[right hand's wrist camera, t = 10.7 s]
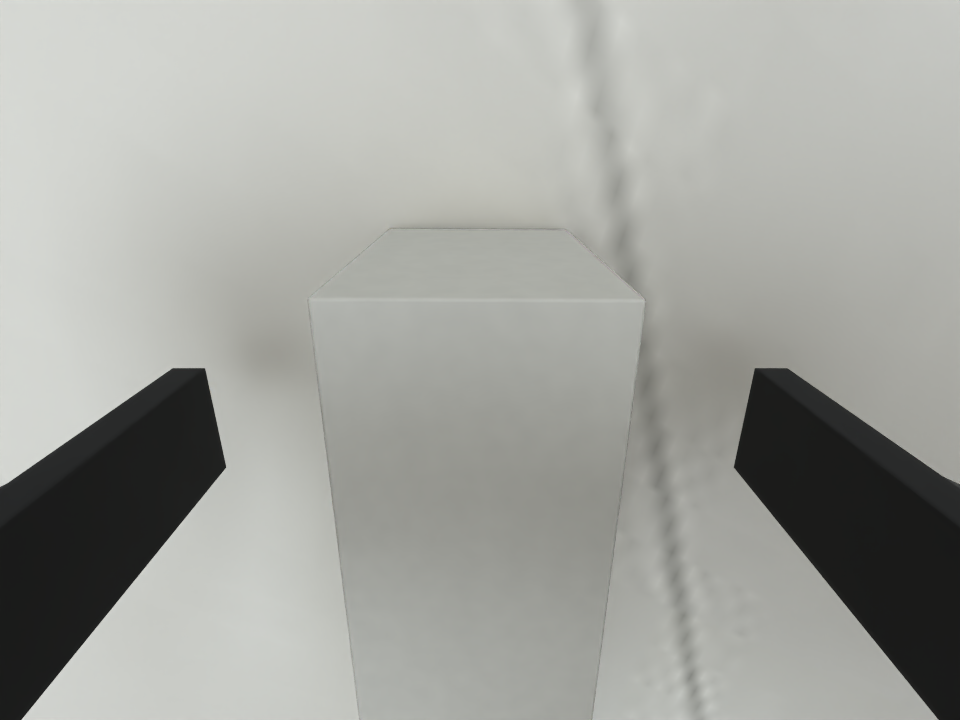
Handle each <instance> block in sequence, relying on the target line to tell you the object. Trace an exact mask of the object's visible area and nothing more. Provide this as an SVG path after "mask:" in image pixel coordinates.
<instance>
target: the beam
mask: <svg viewBox="0 0 960 720" xmlns="http://www.w3.org/2000/svg"><path fill="white" fill-rule="evenodd" d="M645 305H646V301H645V299H644V298H643V297H642V296H641V295H640V294H638V293H637V292H636V291H635V290H634V289H633V288H632V287H631V286H629V285H628V284H627V283H626V282H625V281H624V280H623V279H622V278H620V277H619V276H618V275H617V274H616V273H615V272H614V271H613V270H611V269H610V268H609V267H608V266H607V265H606V264H605V263H604V262H602V261H601V260H600V259H599V258H598V257H597V256H596V255H594V254H593V253H592V252H591V251H590V250H589V249H588V248H587V247H585V246H584V245H583V244H582V243H581V242H580V241H579V240H578V239H576V238H575V237H574V236H573V235H572V234H571V233H570V232H569V231H567V230H566V229H389V230H388V231H386V232H385V233H384V234H383V235H382V236H381V237H379V238H378V239H377V240H376V241H375V242H374V243H372V244H371V245H370V246H369V247H368V248H367V249H365V250H364V251H363V252H362V253H361V254H359V255H358V256H357V257H356V258H355V259H354V260H352V261H351V262H350V263H349V264H348V265H347V266H345V267H344V268H343V269H342V270H341V271H339V272H338V273H337V274H336V275H335V276H334V277H332V278H331V279H330V280H329V281H328V282H327V283H325V284H324V285H323V286H322V287H321V288H320V289H318V290H317V291H316V292H315V293H314V294H312V295H311V296H310V297H309V298H308V307H309V315H310V323H311V331H312V340H313V348H314V356H315V364H316V372H317V380H318V388H319V396H320V404H321V412H322V421H323V429H324V437H325V445H326V453H327V461H328V469H329V477H330V485H331V493H332V502H333V510H334V518H335V526H336V534H337V542H338V550H339V558H340V566H341V574H342V583H343V591H344V599H345V607H346V615H347V623H348V631H349V639H350V647H351V655H352V664H353V672H354V680H355V688H356V696H357V704H358V712H359V720H592V717H593V709H594V701H595V693H596V685H597V678H598V670H599V662H600V654H601V647H602V639H603V631H604V623H605V616H606V608H607V600H608V592H609V584H610V577H611V569H612V561H613V553H614V546H615V538H616V530H617V522H618V515H619V507H620V499H621V491H622V483H623V476H624V468H625V460H626V452H627V445H628V437H629V429H630V421H631V414H632V406H633V398H634V390H635V382H636V375H637V367H638V359H639V351H640V344H641V336H642V328H643V320H644V313H645Z"/></svg>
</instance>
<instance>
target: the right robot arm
mask: <svg viewBox="0 0 960 720" xmlns="http://www.w3.org/2000/svg"><path fill="white" fill-rule="evenodd" d="M225 468H226V464H225V460H224V455H223V450H222V446H221V441H220V436H219V432H218V427H217V422H216V417H215V413H214V408H213V403H212V399H211V394H210V389H209V385H208V380H207V375H206V371H205V368H173V369H171V370H170V371H168V372H167V373H165V374H164V375H163V376H161V377H160V378H158V379H157V380H155V381H154V382H152V383H151V384H150V385H148V386H147V387H145V388H144V389H142V390H141V391H140V392H138V393H137V394H135V395H134V396H132V397H131V398H129V399H128V400H127V401H125V402H124V403H122V404H121V405H119V406H118V407H117V408H115V409H114V410H112V411H111V412H109V413H108V414H107V415H105V416H104V417H102V418H101V419H99V420H98V421H96V422H95V423H94V424H92V425H91V426H89V427H88V428H86V429H85V430H84V431H82V432H81V433H79V434H78V435H76V436H75V437H73V438H72V439H71V440H69V441H68V442H66V443H65V444H63V445H62V446H61V447H59V448H58V449H56V450H55V451H53V452H52V453H50V454H49V455H48V456H46V457H45V458H43V459H42V460H40V461H39V462H38V463H36V464H35V465H33V466H32V467H30V468H29V469H27V470H26V471H25V472H23V473H22V474H20V475H19V476H17V477H16V478H15V479H13V480H12V481H10V482H9V483H7V484H5V485H3V486H1V487H0V720H21V719H22V718H23V717H24V716H25V715H26V713H27V712H28V711H29V710H30V708H31V707H32V706H33V705H34V703H35V702H36V701H37V700H38V699H39V697H40V696H41V695H42V694H43V692H44V691H45V690H46V689H47V687H48V686H49V685H50V684H51V683H52V681H53V680H54V679H55V678H56V676H57V675H58V674H59V673H60V671H61V670H62V669H63V668H64V666H65V665H66V664H67V663H68V662H69V660H70V659H71V658H72V657H73V655H74V654H75V653H76V652H77V650H78V649H79V648H80V647H81V646H82V644H83V643H84V642H85V641H86V639H87V638H88V637H89V636H90V634H91V633H92V632H93V631H94V630H95V628H96V627H97V626H98V625H99V623H100V622H101V621H102V620H103V618H104V617H105V616H106V615H107V614H108V612H109V611H110V610H111V609H112V607H113V606H114V605H115V604H116V602H117V601H118V600H119V599H120V597H121V596H122V595H123V594H124V593H125V591H126V590H127V589H128V588H129V586H130V585H131V584H132V583H133V581H134V580H135V579H136V578H137V577H138V575H139V574H140V573H141V572H142V570H143V569H144V568H145V567H146V565H147V564H148V563H149V562H150V561H151V559H152V558H153V557H154V556H155V554H156V553H157V552H158V551H159V549H160V548H161V547H162V546H163V545H164V543H165V542H166V541H167V540H168V538H169V537H170V536H171V535H172V533H173V532H174V531H175V530H176V528H177V527H178V526H179V525H180V524H181V522H182V521H183V520H184V519H185V517H186V516H187V515H188V514H189V512H190V511H191V510H192V509H193V508H194V506H195V505H196V504H197V503H198V501H199V500H200V499H201V498H202V496H203V495H204V494H205V493H206V492H207V490H208V489H209V488H210V487H211V485H212V484H213V483H214V482H215V480H216V479H217V478H218V477H219V476H220V474H221V473H222V472H223V471H224V469H225ZM734 468H735V469H736V471H737V472H738V473H739V474H740V476H741V477H742V478H743V479H744V480H745V482H746V483H747V484H748V485H749V487H750V488H751V489H752V490H753V492H754V493H755V494H756V495H757V496H758V498H759V499H760V500H761V501H762V503H763V504H764V505H765V506H766V508H767V509H768V510H769V511H770V512H771V514H772V515H773V516H774V517H775V519H776V520H777V521H778V522H779V524H780V525H781V526H782V527H783V528H784V530H785V531H786V532H787V533H788V535H789V536H790V537H791V538H792V540H793V541H794V542H795V543H796V545H797V546H798V547H799V548H800V549H801V551H802V552H803V553H804V554H805V556H806V557H807V558H808V559H809V561H810V562H811V563H812V564H813V565H814V567H815V568H816V569H817V570H818V572H819V573H820V574H821V575H822V577H823V578H824V579H825V580H826V581H827V583H828V584H829V585H830V586H831V588H832V589H833V590H834V591H835V593H836V594H837V595H838V596H839V597H840V599H841V600H842V601H843V602H844V604H845V605H846V606H847V607H848V609H849V610H850V611H851V612H852V614H853V615H854V616H855V617H856V618H857V620H858V621H859V622H860V623H861V625H862V626H863V627H864V628H865V630H866V631H867V632H868V633H869V634H870V636H871V637H872V638H873V639H874V641H875V642H876V643H877V644H878V646H879V647H880V648H881V649H882V650H883V652H884V653H885V654H886V655H887V657H888V658H889V659H890V660H891V662H892V663H893V664H894V665H895V666H896V668H897V669H898V670H899V671H900V673H901V674H902V675H903V676H904V678H905V679H906V680H907V681H908V683H909V684H910V685H911V686H912V687H913V689H914V690H915V691H916V692H917V694H918V695H919V696H920V697H921V699H922V700H923V701H924V702H925V703H926V705H927V706H928V707H929V708H930V710H931V711H932V712H933V713H934V715H935V716H936V717H937V718H938V719H939V720H960V484H957V483H955V482H953V481H951V480H949V479H947V478H945V477H943V476H941V475H940V474H938V473H937V472H935V471H934V470H933V469H931V468H930V467H928V466H927V465H925V464H924V463H922V462H921V461H920V460H918V459H917V458H915V457H914V456H912V455H911V454H910V453H908V452H907V451H905V450H904V449H902V448H901V447H899V446H898V445H897V444H895V443H894V442H892V441H891V440H889V439H888V438H887V437H885V436H884V435H882V434H881V433H879V432H878V431H876V430H875V429H874V428H872V427H871V426H869V425H868V424H866V423H865V422H864V421H862V420H861V419H859V418H858V417H856V416H855V415H854V414H852V413H851V412H849V411H848V410H846V409H845V408H843V407H842V406H841V405H839V404H838V403H836V402H835V401H833V400H832V399H831V398H829V397H828V396H826V395H825V394H823V393H822V392H820V391H819V390H818V389H816V388H815V387H813V386H812V385H810V384H809V383H808V382H806V381H805V380H803V379H802V378H800V377H799V376H797V375H796V374H795V373H793V372H792V371H790V370H789V369H787V368H755V371H754V375H753V380H752V385H751V389H750V394H749V399H748V403H747V408H746V413H745V418H744V422H743V427H742V432H741V436H740V441H739V446H738V450H737V455H736V460H735V464H734Z"/></svg>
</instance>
